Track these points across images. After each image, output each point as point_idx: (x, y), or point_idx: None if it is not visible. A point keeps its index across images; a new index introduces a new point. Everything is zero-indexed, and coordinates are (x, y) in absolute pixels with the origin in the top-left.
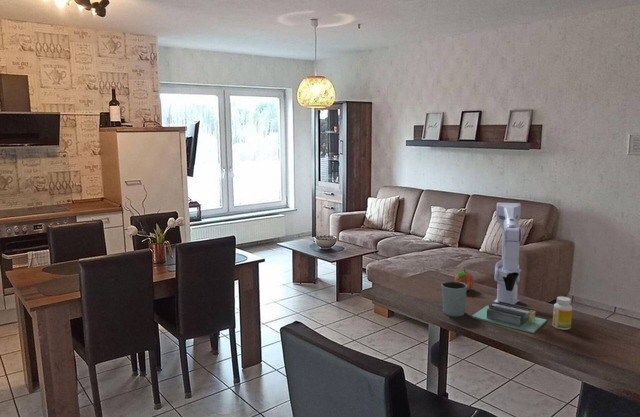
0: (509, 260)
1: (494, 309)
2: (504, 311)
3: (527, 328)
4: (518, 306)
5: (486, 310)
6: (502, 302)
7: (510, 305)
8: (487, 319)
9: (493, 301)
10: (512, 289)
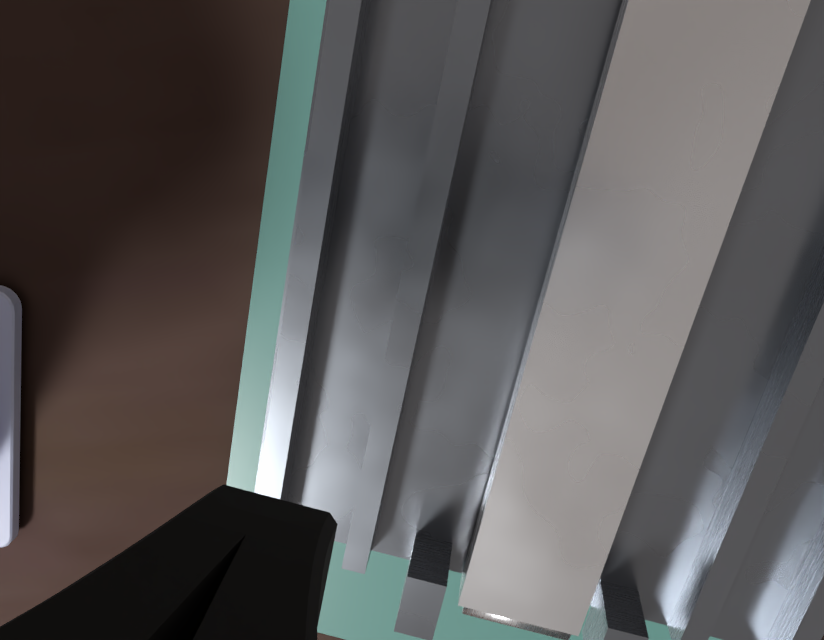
0: None
1: (728, 566)
2: (813, 393)
3: None
4: (339, 159)
5: None
6: (282, 476)
7: (393, 323)
8: None
9: (1, 544)
10: (253, 516)
